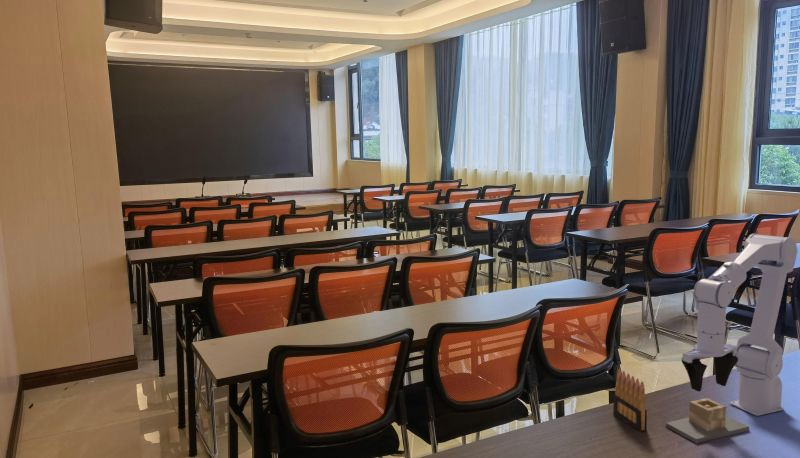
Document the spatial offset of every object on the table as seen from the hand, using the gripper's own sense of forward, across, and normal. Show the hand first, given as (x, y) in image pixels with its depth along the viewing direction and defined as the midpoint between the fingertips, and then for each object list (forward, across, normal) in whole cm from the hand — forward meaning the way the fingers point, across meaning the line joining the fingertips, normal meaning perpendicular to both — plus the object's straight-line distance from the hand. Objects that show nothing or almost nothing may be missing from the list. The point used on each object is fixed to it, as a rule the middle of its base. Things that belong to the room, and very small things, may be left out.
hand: (708, 387), depth 140 cm
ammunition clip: (+10, +14, -10) cm, 20 cm away
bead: (+9, 0, 0) cm, 9 cm away
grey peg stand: (+10, 0, 0) cm, 10 cm away
